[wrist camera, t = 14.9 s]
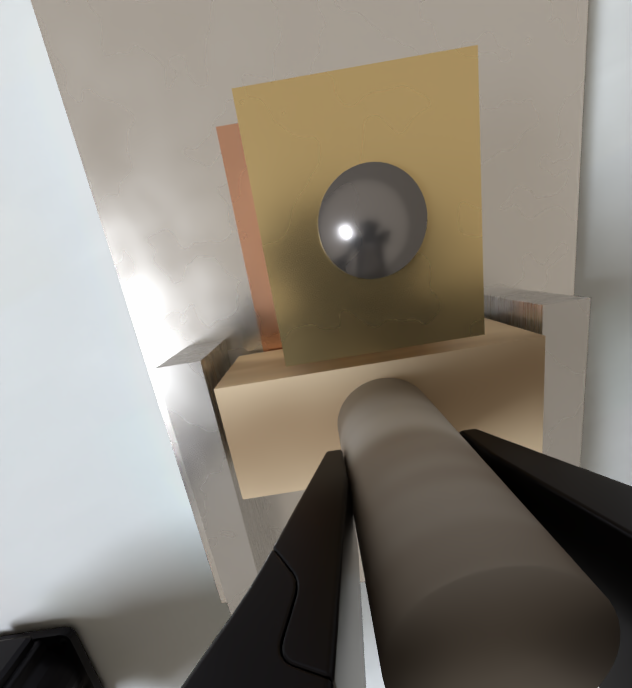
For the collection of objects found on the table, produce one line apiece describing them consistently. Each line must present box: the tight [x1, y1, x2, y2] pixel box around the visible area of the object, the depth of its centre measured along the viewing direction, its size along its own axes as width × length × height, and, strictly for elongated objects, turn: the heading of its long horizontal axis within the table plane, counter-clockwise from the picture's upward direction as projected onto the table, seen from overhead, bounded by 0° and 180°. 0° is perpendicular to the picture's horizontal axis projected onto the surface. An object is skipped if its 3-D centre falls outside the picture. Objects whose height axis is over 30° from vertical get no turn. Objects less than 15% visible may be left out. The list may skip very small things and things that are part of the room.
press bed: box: [31, 0, 591, 615], centre depth 12 cm, size 26×18×4 cm
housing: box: [231, 45, 485, 367], centre depth 9 cm, size 6×5×5 cm
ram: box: [214, 318, 620, 688], centre depth 8 cm, size 4×10×10 cm, turn 99°
